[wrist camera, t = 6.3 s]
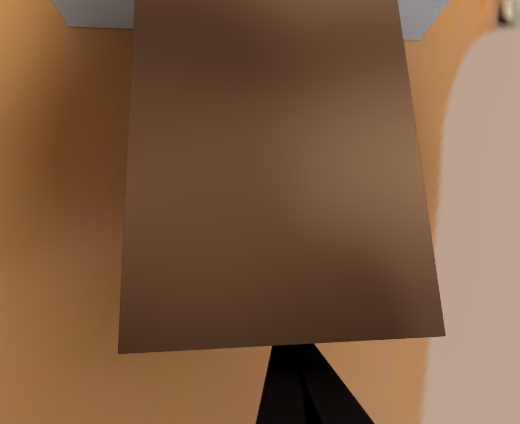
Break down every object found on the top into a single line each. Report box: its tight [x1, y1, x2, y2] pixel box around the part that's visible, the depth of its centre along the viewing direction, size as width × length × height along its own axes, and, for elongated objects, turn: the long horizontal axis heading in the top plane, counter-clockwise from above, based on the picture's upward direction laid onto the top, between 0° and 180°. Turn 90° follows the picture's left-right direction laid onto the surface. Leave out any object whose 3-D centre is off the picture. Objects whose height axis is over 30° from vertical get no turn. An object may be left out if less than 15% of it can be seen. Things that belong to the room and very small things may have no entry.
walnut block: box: [118, 0, 445, 354], centre depth 13 cm, size 14×7×8 cm, turn 2°
